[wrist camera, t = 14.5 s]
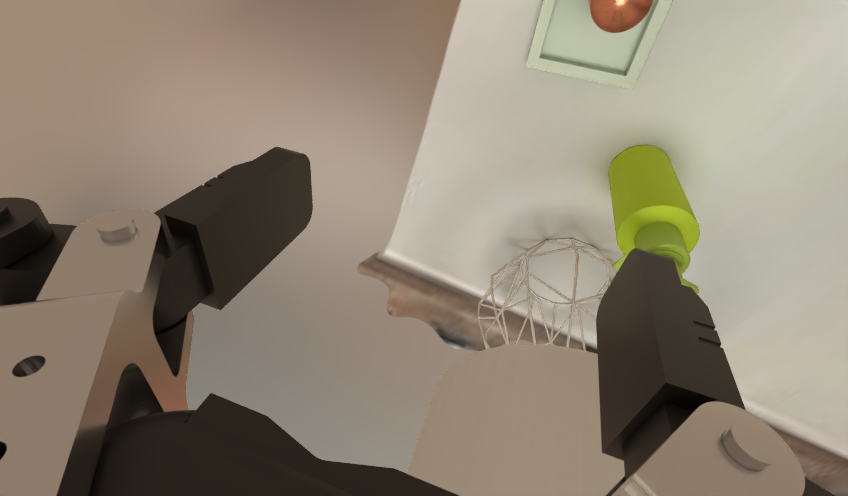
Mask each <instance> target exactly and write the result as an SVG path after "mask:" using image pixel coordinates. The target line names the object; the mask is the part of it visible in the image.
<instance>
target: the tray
mask: <svg viewBox="0 0 848 496" xmlns="http://www.w3.org/2000/svg"><path fill="white" fill-rule="evenodd" d="M672 1H673V0H654V1H653V4H652V6H651V8H650V10H649V12H648V13H647V15H646V16H645V17H644V19H643V20H642V21H641V22H640V23H638V24H637V25H636V26H634V27H633V28H631V29H629V30H627V31H624V32H620V33H609V32H606V31H604V30H602V29H600V28H599V27H598V26H597V25H596V24H595V23H594V21H593V19H592V16H591V12H590V6H589V1H588V0H544V1H543V4H542V8H541V12H540V15H539V19H538V23H537V26H536V30H535V34H534V37H533V41H532V45H531V48H530V52H529V56H528V59H527V63H526V67H528V68H532V69H537V70H542V71H546V72H551V73H556V74H560V75H565V76H569V77H574V78H579V79H583V80H588V81H593V82H597V83H602V84H607V85H611V86H616V87H621V88H625V89H630V90H633V88H634V86H635V84H636V82H637V79H638V77H639V75H640V73H641V70H642V68H643V66H644V64H645V61H646V59H647V57H648V55H649V52H650V50H651V48H652V46H653V44H654V41H655V39H656V37H657V35H658V32H659V30H660V28H661V26H662V23H663V21H664V19H665V17H666V15H667V12H668V10H669V8H670V6H671V3H672Z"/></svg>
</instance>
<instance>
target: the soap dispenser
mask: <svg viewBox="0 0 848 496" xmlns="http://www.w3.org/2000/svg"><path fill="white" fill-rule="evenodd" d="M609 183H610V190H611V198H612V206H613V214H614V221H615V229H616V237H617V243H618V246H619V249H620V250H621V252H622V253H623V254H624V256H623V257H622V258H621V259H620V260H619V261H618V262H616V263H615V264H614V265H613V267H614V268H615V269H616V270H619V269H620V267H621V265H622V264H623V262H624V260H625V259H626V257H627V255H628V254H629V253H630V251H631V250H633V249H634V248H638V249H642V250H645V251H649V252H653V253H656V254H660V255H663V256H667V257H670V258H672V259H673V260H674V262H675V265H676V268H677V271H678V274H679V277H680V281H681V284H682V285H685V286H688V287H691V288H692V289H693V290H694V291H695V292H696V294H697V293H699V289H698V287H697V286H696V285H694V284H692V283H690V282H688V281H687V280H685V279H683V278H682V275H681V274H682V273H683V272H684V271H685V270H686V269H687V268H688V266H689V263H690V256H689V253H690V252H691V251H692V249H693V248H694V247H695V245H696V244H697V242H698V239H699V234H700V230H699V225H698V223H697V220H696V218H695V216H694V214H693V211H692V209H691V207H690V205H689V203H688V200H687V198H686V196H685V194H684V191H683V189H682V187H681V185H680V182H679V180H678V178H677V176H676V173H675V171H674V169H673V167H672V164H671V162H670V160H669V158H668V156H667V155H666V154H665V153H664V152H663V151H662V150H661V149H659V148H657V147H654V146H649V145H639V146H634V147H631V148H628V149H626V150H624V151H623V152H621V153H620V154H619V155H618V156H617V157H616V158H615V159H614V160H613V162H612V163H611V165H610V168H609Z"/></svg>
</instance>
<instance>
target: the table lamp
mask: <svg viewBox="0 0 848 496" xmlns="http://www.w3.org/2000/svg"><path fill="white" fill-rule="evenodd" d="M566 240H571V242H572V244H573V245H568V244H564V243H559V242H555V241H566ZM573 241H575V242H577V243H580V244H583V245H585V246H588V247H584V246H575V244H574V242H573ZM546 242H551V243H555V244H560V245H564V246H568V248H563V249H558V250H553V251H549V252H544V253H539V254H534V255H532V254H533V253H534V252H535V251H536V250H537V249H539V248H540V247H541V246H542V245H544V244H545V243H546ZM573 248H574V249H575V252H576V268H575V280H574V289H573V298H572V300H570V299H569V298H567V297H565V296H564V295H562V294H561V293H559V292H558V291H556V290H555V289H553V288H552V287H550V286H549V285H547V284H546V283H544V282H543V281H541V280H540V279H538V278H537V277H535V276H534V275H532V274H531V273H529V272H528V263H529V258H531V257H535V256H540V255H545V254H549V253H554V252H559V251H564V250H568V249H573ZM580 248H586V249H594V250H595V251H596V252H597V253H598V255H599V256H600V257H601V258H602V259H603V260H604V261H603V260H601V259H599V258H597V257H595V256H593V255H591V254H590V253H588V252H586V251H584V250H582V249H580ZM577 250H579V251H581V252H583V253H585V254H587V255H589V256H591V257H593V258H594V259H596V260H598V261H600V262H602V263H604V264H606V265H607V282H606V284H605V285H604V286H603V288H602V289H601V290H600V292H599V293H598V294H597V296H593V297H589V298H586V299H582V300H578V301H575V295H576V284H577V274H578V260H579V255H578V252H577ZM531 251H532V252H531ZM529 252H531V253H530V254H529V255H528V256H527V254H528V253H529ZM523 256H524V258H521V257H523ZM520 258H521V259H520ZM525 259H526V272H525V274H524V275H522V269H521V265H522V263H523V262H524V260H525ZM607 259H608V260H609V261H610V262H611V263H612V264H613V265H614V264H615V262H613V261H612V260H611V259H610V258H608V257H607V256H606V255H604V254H603V253H602V252H600V251H599V250H598V249H596V248H595V247H593V246H590V245H588V244H585V243H582V242H580V241H577V240H575V239H571V238H569V239H552V240H545V241H544V242H542V243H540V244H538V245H537V246H535V247H533V248H531V249H529V250H528V251H526V252H525V253H523V254H522V255H520V256H519V257H517V258H516V259H514V260H512V261H511V262H509V263H508V264H506V265H505V266H504V267H502V268H501V269H500V270H498V271H497V272H496V273H494V274H493V275H492V276H491V287H490V288H489V290H488V291H487V292H486V294H485V295H484V296H483V298H482V299H481V300H480V302H479V303H478V315H477V319H478V322H479V326H480V329H481V333H482V337H483V340H484V344H485V348H486V349H485V350H482V351H479V352H476V353H473V354H470V355H468V356H467V357H464V358H462V359H460V360H459V361H457V362H456V363H454V364H453V365H452V366H450V367H449V368H448V369H447V370H446V371H445V372H444V373H443V374H442V376H441V378H440V379H439V381H438V383H437V385H436V388H435V391H434V394H433V397H432V400H431V403H430V406H429V409H428V412H427V415H426V418H425V420H424V423H423V427H422V429H421V433H420V435H419V438H418V441H417V444H416V447H415V450H414V453H413V456H412V459H411V462H410V465H409V468H408V471H407V473H406V474H408V475H411V476H413V477H416V478H418V479H421V480H423V481H425V482H428V483H430V484H433V485H435V486H438V487H440V488H442V489H445V490H447V491H450V492H452V493H455V494H457V495H459V496H605V495H606V494H607V493H608V492H609V491H610V489H611V488H612V487H613V486H614V485H615V484H616V483H617V482H618V481H619V480H620V479H622V478H623V477H624V476H625V470H624V461H623V460H620V459H617V458H615V457H612V456H609V455H607V454H604V453H602V445H601V421H600V398H599V374H598V354H595V353H592V352H588V351H586V350H585V342H584V336H583V329H582V323H581V316H580V310H579V307H580V308H582V309H583V310H584V311H585V312H586V313H588V314H589V315H590V316H591V317H593V318H594V319H595V320H596V318H595V317H594V316H593V315H591V314H590V313H589V312H588V311H587V310H585V309H584V308H583V307H582V306H580V304H582V303H584V302H587V301H589V300H592V299H595V298H597V299H598V301H599V304H600V299H599V297H603V296H604V294H605V293H604V294H601V295H600V293H601V292H602V291H603V289H604V288H605V287H606V286H607V284H608V287H609V286H610V284H611V281H609V267H610V268H611V269H613V270H614V271H615V272H616V273H617V272H618V270H616V269H615V268H614V267H613V265H612V264H611V263H610V262H609V261H608V260H607ZM521 260H522V262H521V264H520V266H518V265H513V263H516V262H519V261H521ZM508 266H514V267H518V268H516V269H515V270H514V271H513V272H512V273H511V274H510V275H508V276H507V277H506V278H505V279H504V280H503V281H502V282H500V283H499V284H498V285H497V286H496V287H495V288H494V289H493V286H494V285H495V283H496V282H497V280H498V279H499V278H500V276H501V275H502V274H503V272H504V271H505V270H506V268H507V267H508ZM502 270H503V271H502ZM519 270H520V273H521V280H520V281H519V283H518V284H517V286H516V287H515V289H514V290H513V292H512V293H511V295H510V296H509V294H510V292H511V289H512V287H513V284H514V282H515V279H516V277H517V275H518V272H519ZM500 271H502V272H501V273H500V275H499V276H498V277H497V279H496V280H495V281H494V283H493V277H494V276H495V275H496V274H498V273H499V272H500ZM516 271H517V273H516V275H515V278H514V280H513V283H512V285H511V288H510V290H509V293H508V295H507V298H506V300H505V302H504V305H503V307H502V308H501V309H498V308H496V305H495V300H494V295H493V291H494V290H495V289H496V288H498V287H499V286H500V285H501V284H502V283H503V282H504V281H505V280H507V279H508V278H509V277H510V276H511V275H512V274H513V273H514V272H516ZM528 275H530V276H531V277H533V278H534V279H536V280H537V281H539V282H540V283H542V284H543V285H545V286H546V287H548V288H549V289H551V290H552V291H554V292H555V293H557V294H558V295H560V296H561V297H563V298H564V299H566V300H567V301H569V302H570V303H572V304H565V303H553V302H551V301H548V300H546V299H543V298H541V297H538V296H536V294H535V293H534V292H533V291H532V290H531V289H530V288H529V280H528ZM525 276H526V284H525V283H524V280H523V279H524V278H525ZM521 282H522V283H521ZM523 284H524V285H525V286H526V287H527V299H526V300H524V301H522V302H519V303H517V304H515V305H512V306H510V307H507V308H506V306H507V305H508V304H509V302H510V301H511V300H512V298H513V297H514V295H515V294H516V293H517V291H518V290H519V289H520V287H521V286H522V285H523ZM519 285H520V286H519ZM489 291H491V292H490V293H489ZM529 291H530V292H531V293H532V294H533V295H534V296H533V297H531V298H530V295H529ZM488 293H489V294H488ZM487 294H488V295H487ZM490 294H491V296H492V301H493V306H494V307H491V306H488V305H485V304H482V302H483V301H484V300H485V299H486V298H487V297H488V296H489V295H490ZM486 295H487V296H486ZM508 297H509V298H508ZM533 298H534V300H533V303H532V305H531V306H530V300H531V299H533ZM538 298H539V299H542V300H544V301H547V302H549V303H552V304H554V305H555V307H554V315H553V323H552V331H551V339H550V336H549V333H548V330H547V326H546V323H545V320H544V317H543V314H542V311H541V308H540V305H539V301H538ZM535 300H537V304H538V307H539V310H540V313H541V316H542V319H543V323H544V326H545V329H546V332H547V335H548V338H549V341H550V342H548V343H546V344H543V345H541V344H536V338H535V332H534V325H533V319H532V312H531V309H532V307H533V305H534V302H535ZM526 301H528V309H529V312H528V314H527V317H526V319H525V321H524V324H523V326H522V328H521V331H520V333H519V336H518V338H517V341H516V343H515V345H510V344H509V339H508V334H507V329H506V324H505V319H504V314H503V311H505V310H507V309H509V308H512V307H514V306H516V305H519V304H521V303H523V302H526ZM577 303H578V304H577ZM480 305H482V306H486V307H489V308H492V309H494V311H495V317H479V315H480ZM556 305H572V307H571V313H570V315H569V316H568V318H567V319H566V320H565V322H564V323H563V325H562V326H561V327H560V329H559V330H558V332H557V333H556V334H555V336H554V337H553V329H554V321H555V313H556ZM574 305H576V306H575V308H574ZM576 308H578V315H579V322H580V328H581V335H582V341H583V348H584V350H579V349H573V348H569V341H570V333H571V326H572V318H573V312H574V311H575V309H576ZM497 310H499V311H500V312H499V313H498V315H497ZM501 313H502V318H503V323H504V328H505V333H506V336H505V334H504V331H503V329H502V326H501V324H500V321H499V319H498V317H499V316H500V314H501ZM529 315H530V322H531V329H532V335H533V342H534V344H520V345H517V343H518V341H519V338H520V336H521V333H522V331H523V328H524V326H525V324H526V321H527V319H528V316H529ZM569 318H570V321H569V329H568V336H567V344H566V347H562V346H555V345H554V344H553V343H552V342H553V340H554V339H555V337H556V336H557V335H558V333H559V332H560V330H561V329H562V328H563V326H564V325H565V323H566V322H567V321H568V319H569ZM480 319H495V320H494V321H493V322H492V324H491V325H490V327H489V328H488V329H487V331H486V333H485V336H484V333H483V329H482V326H481V322H480ZM496 320H497V322H498V325H499V327H500V330H501V332H502V335H503V337H504V340H505V343H506V345H507V346H500V347H495V348H490V347H489V345H488V343H487V333H488V331H489V330H490V328H491V327H492V326H493V324H494V323H495V321H496ZM552 337H553V339H552ZM506 338H507V339H506ZM548 344H550V345H548ZM551 344H552V345H553V346H552V345H551ZM487 347H488V348H487Z"/></svg>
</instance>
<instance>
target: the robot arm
mask: <svg viewBox="0 0 848 496" xmlns="http://www.w3.org/2000/svg"><path fill="white" fill-rule="evenodd" d="M312 207H313V206H312V188H311V170H310V161H309V159H308V157H307V156H306V155H305V154H302V153H298V152H295V151H291V150H287V149H284V148H280V147H275V148H273V149H271V150H269V151H268V152H266V153H264V154H263V155H261V156H260V157H258V158H256V159H255V160H253V161H250V162H246V163H243V164H239V165H236V166H233V167H231V168H230V169H228V170H226V171H225V172H223V173H221V174H220V175H218V177H217V178H213V179H211V180H209V181H207V182H206V183H205V185H204V186H202V185H201V186H199V187H197V188H196V189H194V190H192V191H190V192H189V193H187V194H185V195H184V196H182V197H180V198H179V199H177V200H175V201H173V202H172V203H170V204H168V205H167V206H165V207H163V208H162V209H160V210H158V211H156V212H155V213H152V212H149V211H146V210H141V209H120V210H114V211H109V212H105V213H102V214H99V215H96V216H94V217H91V218H89V219H87V220H86V221H84V222H83V223H81V224H79V225H78V226H72V225H59V224H49V223H48V221H47V219H46V218H45V216H44V214H43V212H42V211H41V209H40V207H39V205H38V204H37V203H35V202H34V201H31V200H29V199H24V198H0V496H459V495H457V494H455V493H452V492H450V491H447V490H445V489H442V488H440V487H438V486H435V485H433V484H430V483H428V482H425V481H423V480H421V479H418V478H416V477H413V476H411V475H408V474H406V473H404V472H401V471H399V470H396V469H393V468H385V467H375V466H367V465H358V464H350V463H340V462H332V461H325V460H321V459H319V458H316V457H315V456H314V455H312V454H311V453H310V452H309V451H308V450H307V449H305V448H304V447H303V446H302V445H301V444H299V443H298V442H297V441H296V440H295V439H294V438H292V437H291V436H290V435H289V434H288V433H286V432H285V431H284V430H283V429H282V428H280V427H279V426H278V425H277V424H276V423H274V422H273V421H272V420H271V419H270V418H269V417H267V416H265V415H263V414H260V413H258V412H256V411H253V410H251V409H248V408H246V407H244V406H241V405H239V404H236V403H234V402H231V401H229V400H227V399H224V398H222V397H219V396H217V395H215V394H212V393H211V394H210V395H209V396H208V397H207V398H206V399H205V401H204V402H203V403H202V404H201V405H200V406H199V408H198V409H197V410H188V404H187V398H186V382H187V374H188V366H189V358H190V350H191V341H192V334H193V326H194V315H193V311H192V309H193V308H194V307H195V306H197V305H198V304H199V303H203V304H205V305H208V306H211V307H214V308H216V309H219V310H221V309H222V308H223V307H224V306H225V305H226V304H227V303H229V301H231V299H232V298H234V297H235V296H236V295H237V294H238V293H239V292H240V291H241V290H242V289H243V288H244V287H245V286H246V285H247V284H248V283H249V282H250V281H251V280H252V279H253V278H254V277H255V276H256V275H257V274H259V273H260V272H261V271H262V270H263V269H264V268H265V267H266V266H267V265H268V264H269V263H270V262H271V261H272V260H273V259H274V258H275V257H276V256H277V255H278V254H279V253H280V252H281V251H282V250H283V249H284V248H285V247H286V246H287V245H289V243H291V242H292V241H293V240H294V239H295V238H296V237H297V236H298V235H299V234H300V233H301V232H302V231H303V230H304V229H305V228H306V226H307V225H308V223H309V221H310V218H311V215H312V209H313V208H312ZM596 327H597V351H598V374H599V398H600V421H601V445H602V453H604V454H607V455H609V456H612V457H615V458H617V459H620V460H623V461H624V470H625V476H624V477H623V478H622V479H620V480H619V481H618V482H617V483H616V484H615V485H614V486H613V487H612V488H611V489H610V491H609V492H608V493H607V494H606V495H605V496H835V495H833V494H831V493H830V492H828V491H826V490H825V489H823V488H821V487H820V486H818V485H816V484H815V483H813V482H811V481H810V480H808V479H807V478H805V477H804V474H803V470H802V468H801V465H800V463H799V461H798V460H797V458H796V456H795V454H794V453H793V452H792V450H791V449H790V447H789V446H788V445H787V444H786V443H785V441H784V440H783V439H782V438H781V437H780V436H779V435H778V434H777V433H776V432H775V431H774V430H773V429H772V428H771V427H769V426H768V425H767V424H766V423H765V422H763V421H762V420H760V419H759V418H758V417H756V416H754V415H753V414H751V413H749V412H748V411H746V410H745V407H744V404H743V402H742V399H741V396H740V393H739V391H738V388H737V385H736V382H735V380H734V377H733V374H732V372H731V369H730V366H729V363H728V361H727V358H726V355H725V353H724V350H723V348H721V347H720V345H721V342H720V339H719V336H718V333H717V331H715V330H714V328H715V325H714V323H713V320H712V317H711V314H710V312H709V309H708V307H707V306H706V304H705V303H704V302H703V301H702V300H701V298H700V297H699V296H698V295H697V294H696V292H695V291H694V290H693V289H692V288H691V287H688V286H685V285H682V284H681V281H680V277H679V274H678V271H677V268H676V265H675V262H674V260H673V259H672V258H670V257H667V256H663V255H660V254H656V253H653V252H649V251H645V250H642V249H638V248H634V249H633V250H631V251H630V253H629V254H628V255H627V257H626V259H625V260H624V262H623V264H622V265H621V267H620V269H619V270H618V272H617V274H616V275H615V277H614V279H613V281H612V282H611V284H610V286H609V287H608V289H607V291H606V292H605V294H604V296H603V298H602V300H601V302H600V305H599V308H598V312H597V319H596Z"/></svg>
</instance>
